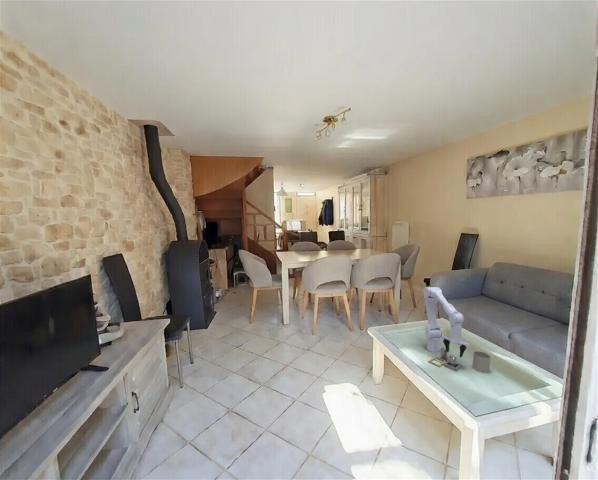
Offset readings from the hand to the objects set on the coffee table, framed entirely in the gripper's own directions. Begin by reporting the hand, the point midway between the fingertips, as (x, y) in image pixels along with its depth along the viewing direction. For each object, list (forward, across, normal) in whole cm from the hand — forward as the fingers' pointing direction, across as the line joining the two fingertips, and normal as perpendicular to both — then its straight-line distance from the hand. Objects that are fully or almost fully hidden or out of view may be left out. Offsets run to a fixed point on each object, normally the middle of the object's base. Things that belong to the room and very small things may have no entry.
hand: (454, 354), depth 161 cm
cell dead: (+7, -7, +3) cm, 10 cm away
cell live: (+6, +1, -4) cm, 8 cm away
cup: (+8, +12, +8) cm, 16 cm away
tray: (+7, -7, -6) cm, 12 cm away
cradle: (+7, +1, -3) cm, 8 cm away
